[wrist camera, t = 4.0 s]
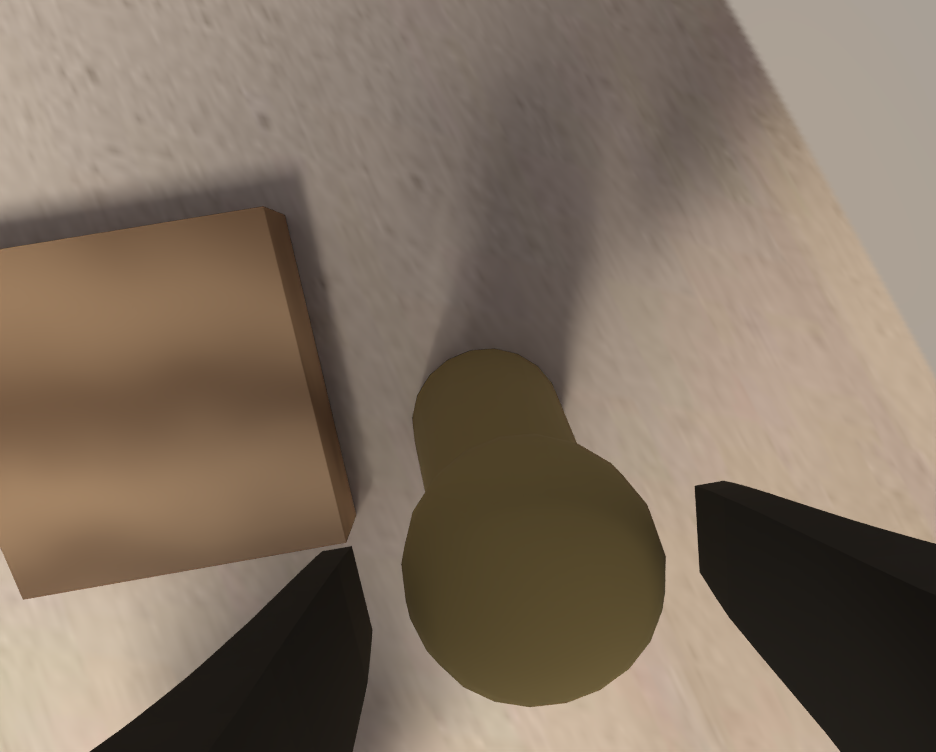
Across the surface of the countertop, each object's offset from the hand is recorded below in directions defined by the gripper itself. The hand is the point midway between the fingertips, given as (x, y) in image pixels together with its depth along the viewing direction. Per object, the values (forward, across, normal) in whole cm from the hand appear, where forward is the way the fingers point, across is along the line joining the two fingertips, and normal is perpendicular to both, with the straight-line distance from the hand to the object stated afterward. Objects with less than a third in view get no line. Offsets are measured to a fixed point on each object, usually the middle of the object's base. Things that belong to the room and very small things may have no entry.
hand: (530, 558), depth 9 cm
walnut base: (+9, +12, -3) cm, 15 cm away
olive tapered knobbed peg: (+9, 0, 0) cm, 9 cm away
